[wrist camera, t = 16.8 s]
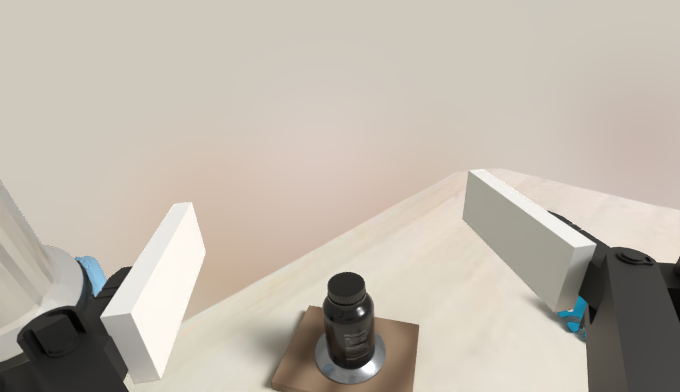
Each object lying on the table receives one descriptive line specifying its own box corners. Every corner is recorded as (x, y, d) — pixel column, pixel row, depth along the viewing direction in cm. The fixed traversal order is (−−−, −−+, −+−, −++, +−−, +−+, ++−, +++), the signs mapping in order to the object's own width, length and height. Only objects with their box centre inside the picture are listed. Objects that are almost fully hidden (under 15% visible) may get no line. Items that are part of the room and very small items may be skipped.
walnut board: (272, 389, 44) (270, 380, 43) (310, 312, 56) (309, 304, 55) (409, 424, 39) (409, 415, 38) (418, 331, 51) (419, 323, 50)
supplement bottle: (379, 335, 49) (378, 270, 44) (369, 377, 43) (367, 308, 38) (335, 326, 51) (329, 263, 45) (320, 365, 45) (311, 298, 40)
